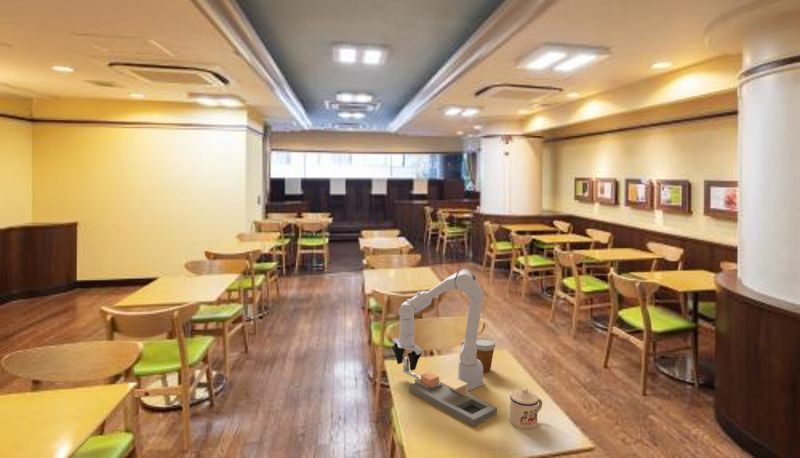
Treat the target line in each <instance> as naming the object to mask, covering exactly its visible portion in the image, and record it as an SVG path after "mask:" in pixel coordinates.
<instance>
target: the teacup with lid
mask: <svg viewBox="0 0 800 458" xmlns="http://www.w3.org/2000/svg"><path fill="white" fill-rule="evenodd" d="M509 399H510V404H509V405H510V407H509V410H510V411H509V422H510V424H511V425H512V426H514V427H516V428H518V429H521V430H532V429H534V428H536V426H537V425H538V413H539V412H540V411H541V409H542V407H543V400H542V399H541V398H539V397H538V395H537V393H534V392H532V391H530V390H529V389H528V388H526V387H522V388H521V389H517V390H514V391H512V392H511V393H510V395H509Z"/></svg>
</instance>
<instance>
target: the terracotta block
mask: <svg viewBox="0 0 800 458" xmlns="http://www.w3.org/2000/svg"><path fill="white" fill-rule="evenodd" d="M420 376H421V382H422V383H424V384H426V385H428V386H431V385H434V384H436V383H438V381H439V379H440V376H439V375H437V374H435V373H433V372H431V371H428V372H426V373H423V374H421V375H420Z"/></svg>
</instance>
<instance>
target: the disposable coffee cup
mask: <svg viewBox="0 0 800 458" xmlns="http://www.w3.org/2000/svg"><path fill="white" fill-rule="evenodd" d="M476 347H477V355H476V356H477V359H478V360H480V361H481V363H482V365H483V374H486V373H490V372H491V369H492V368H491V367H492V364H493V363H492V362H493V358H494V351H495V350H494V349H495V347H496V344H495V341H494V340H492V339H491V338H486V337H477V340H476Z"/></svg>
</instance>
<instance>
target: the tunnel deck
mask: <svg viewBox="0 0 800 458" xmlns="http://www.w3.org/2000/svg"><path fill="white" fill-rule="evenodd" d="M438 383H440V384H442V386H439V387H437V388H435V389H432V390H429V389H427V388H425V387H423V386H421V385H419V384H417V383H415V382H414V383H411V384H409V385H408V388H409V389H408V392H409V393H411V394H412V395H414V396H417V397H419V398H420V399H422V400H423V401H425V402H426V403H430V404H431V405H433V406H435V407H436V408H439V409H440V410H442V411H444V412H445V413H446V414H447V413H448V414H449V415H451V416H452V417H455V418H457V419H458V420H459V421H460V420H461V421H462V422H464V423H466V424H468V425H469V426H471V427H473V428H474V427H476V426H479V425H480V424H482V423H484V422H486V421H488V420H490V419H491V418H493V417H495V416H497V415H498V407H497V406H495V405H492V403H491V404H490V403H489V402H487V401H485V400H483V399H481V398H479V397H476V396H475V395H472V394H471V393H468V383H466V382H463V381H461V380H459V379H458V377H455V376H452V375H450V376H447V377H444V378H443V379H440V378H439V381H438Z"/></svg>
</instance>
